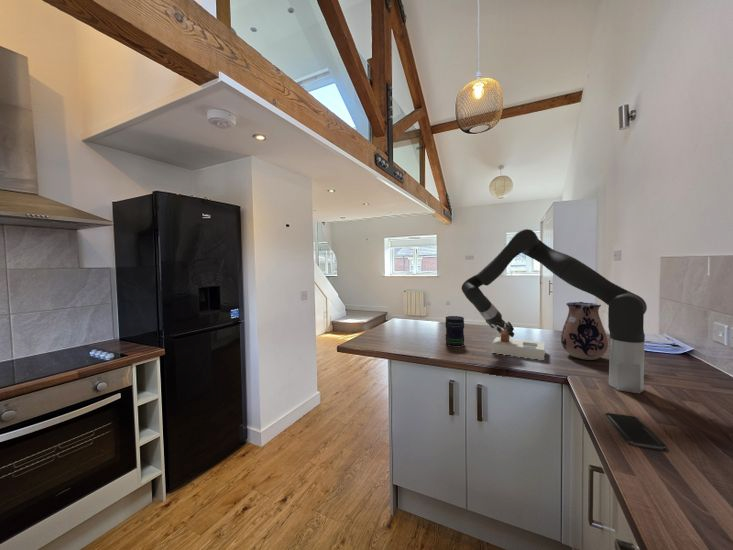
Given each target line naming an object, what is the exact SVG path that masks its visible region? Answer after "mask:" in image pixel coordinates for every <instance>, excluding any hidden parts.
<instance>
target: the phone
mask: <svg viewBox="0 0 733 550" xmlns="http://www.w3.org/2000/svg"><path fill="white" fill-rule="evenodd" d="M605 418H606V419H607V421H608V422H609V423H610V425H612V427H613V428H614V429H615V431H616V432H617V433H618V434H619V435H620V437H621V438H622V439H623V441H624V442H625V443H626V444H628V445H630V446H632V447H639V448H645V449H650V450H656V451H657V450H658V451H667V450H668V448H667V447H668V446H667V445H666V444H665V443H664V442H663V441H662V440H661V439H660V438H659V437H658V435H656V434H655V433H654V432H653V431H652V430H651V429H650V428H649V427H648V426H647V425H646V424H645V423H644V422H643V421H642V420H641V419H640V418H639V417H637V416H634V415H626V414H618V413H610V412H606V413H605Z"/></svg>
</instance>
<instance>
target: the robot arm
mask: <svg viewBox="0 0 733 550" xmlns="http://www.w3.org/2000/svg"><path fill="white" fill-rule="evenodd" d="M520 254H523V255H524V256H527V257H528V258H530V259H533V260H535V261H537V262H538V263H539V264H541V265H542V266H543V267H545V268H546V269H547V270H549V271H550V272H551V273H552V274H554V275H555V276H556V277H557V278H559V279H561V280H562V281H564V282H565V283H567V285H570V286H572V287H574V288H576V289H578V290H580V291H582V292H585V293H588V294H589V295H592V296H594V297H596V298H597V299H598V300H600V301H601V302H604V304H606V305H607V306H608V308H607V309H608V311H607V315H608V316H607V317H608V318H607V320H608V325H607V327H608V331H609V347H608V348H609V349H608V350H609V354H608V355H609V356H608V357H609V358H608V359H609V360H608V362H609V363H608V385H609V387H612V388H614V389H616V391H622V392H626V393H627V392H628V393H634V394H639V395H641V393H643V392H644V384H645V383H644V381H645V380H644V377H645V375H644V373H645V346H646V345H645V341H646V340H645V339H646V337H645V336H646V335H645V332H644V318H645V317H644V316H645V313H646V312H647V309H648V307H647V303H646V301H645V299H644V298H642V297H641V296H640V295H637V294H636V293H633V292H631V291H630V290H627V289H625V288H623V287H621V286H619V285H617V284H616V283H613V282H611V281H610V280H608V279H607V278H606V277H604V276H603V275H602V274H600V273H599V272H597V271H596V270H594V269H593V268H592V267H590V266H588V265H586V264H585V263H584V262H582V261H580V260H578V259H577V258H575V257H573V256H571V255H569V254H566V253H564V252H560V251H558V250H555V249H553V248H551V247H550V246H548V245H547V244H545V242H543V241H541V239H539V238H538V235H537V234H536V232H534V231H533V230H532V229H528V228H526V229H525V228H524V229H521V230H519V231H517V232H516V233H515V234H514V236H512V238H511V239H510V241H509V242H508V243H507V244H506V246H505V247H504V248H503V249H501V251H500V253H498V254H497V255H496V256H495V257H494V259H492V260H491V261H490V262H489V263H488V264H487V265H486V266H484V268H483V269H482V270H480V271H479V272H477V274H475V275H473V276H471V277H469V278H468V279H466V280H465V281H464V282H463V283H462V285H461V292H462V293H463V295H464V296H465V298H466V299H467V300H468V301H469V302H470V303H471V304H472V305H473V306H474V307H475V309H476V310H477V311H478V313H479V314H480V315H481V317H482V318H483V319H484V320H485V322H486V324H487V325H489V326H490V328H491V329H495V330H496V331H497V332H498V333H499V334H500V335H501V329H502V330H505V331H506V332H507V333H508V334H509V335H510V337H511V338H514V336H515V333H514V330H515V328H514V326H513V325H512V323H511V322H510V321H507V322H506V321H505V320H504V319H503V316H502V313H501V312H500V311H499V310H498V308H497V307H496V306H495V305H494V304H493V303H492V302H491V301H490V299H489V298H488V297H487V296H486V295H485V294H484V293H483V292H482V290H481V289H480V287H481V286H487V287H488V286H489V285H491V284H492V283H493V282H494V281H496V279H498V278H499V277H500V276H501V275H502V274H503V273H504V271H505V270H506V268H507V267H508V266H509V265H510V263H512V261H513V260H514V259H515V258H516V257H517V256H520ZM504 325H505V327H504ZM503 327H504V328H503ZM506 328H507V329H508V330H507V329H506Z"/></svg>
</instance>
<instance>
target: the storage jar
mask: <svg viewBox="0 0 733 550" xmlns="http://www.w3.org/2000/svg"><path fill="white" fill-rule="evenodd" d="M464 328H465V317H463V316H459V315H449V316H448V315H447V316H445V345H446V344H447V345H450V346H462V345H464V346H465V335H464ZM447 345H446V346H447ZM450 346H449V347H450Z"/></svg>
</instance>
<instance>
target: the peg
mask: <svg viewBox="0 0 733 550" xmlns="http://www.w3.org/2000/svg"><path fill="white" fill-rule="evenodd" d="M504 327H505V325H504ZM504 327H503V328H504ZM506 329H507V328H506ZM507 330H508V329H507ZM510 337H511V336H510V335H509V334H508V333H507V332H506V331H505V330H502V329H501V334H500V338H501V341H502V342H509V339H511V338H510Z"/></svg>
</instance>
